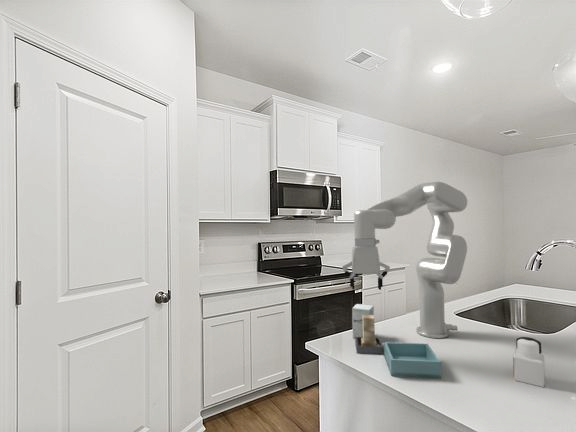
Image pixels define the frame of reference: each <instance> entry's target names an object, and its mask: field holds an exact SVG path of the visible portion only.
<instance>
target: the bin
mask: <svg viewBox="0 0 576 432" xmlns="http://www.w3.org/2000/svg"><path fill="white" fill-rule="evenodd" d="M383 346H384V354H383V355H384V356H383V357H384V359H385V361H386V366H387V367H388V371H389V374H390V376H391V377H404V378H425V379H426V378H427V379H442V361H441V360H440V358H438V356H437V354H436V353H435V352H434V351H433V350H432V348H431V347H430V345H429V344H428V343H419V342H417V343H413V342H392V341H391V342H388V341H385V342H383Z"/></svg>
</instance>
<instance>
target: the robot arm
mask: <svg viewBox="0 0 576 432" xmlns="http://www.w3.org/2000/svg"><path fill="white" fill-rule="evenodd" d="M425 205H426V207H427V209H428V211H429V212H430V215H431V218H432V226H431V230H430V234H429V236H428V240H427V244H426V251H427V253H428V254H429V255H431V256H435V257H441V259H440V258H435V257H423V258H421V259H420V260H419V261H418V262H417V263H416V266H415V267H416V268H415V269H416V275H417V280H418V286H419V287H418V288H419V326H418V327H416V329H415V330H416V333H417V334H419V335H420V336H423V337H426V338H432V339H444V338H447V337H449V336H450V332H449V331H458V326H457V325H453V324H450V323H446V321H445V319H446V318H445V317H446V316H445V291H444V288H443V284H446V285H453V284H456V283H457V282H459V280H460V278H461V275H462V272H463V268H464V264H465V260H466V257H467V253H468V246H467V241H466V240H465V238H464V237H463V236H461V235H457V234H454V230H455V223H454V221H453V218H452V217H451V215H450V214H449V213H462V212H463V211H464V210H466V208H467V206H468V198H467V196H466V195H465V193H464V192H463V191H462V190H459V189H457V188H455V187H453V186H452V185H449V184H447V183H445V182H442V181H430V182H425V183H424V182H423V183H420V184H417V185H415V186H413V187H412V188H410V189H408V190H407V191H404V192H402V193H401V194H399V195H398V196H394V197H391V198H389V199H386V200H384V201H381V202H379V203H377V204H375V205H372V206H370V207H369V208H367V209H362V210H360V209H359V210H356V211H355V212H354V214H353V218H354V219H353V220H354V221H353V222H354V223H353V225H354V226H353V227H354V228H353V229H354V246H353V247H352V251H351V261H350V262H349V263H346V264H345V265H343V266H342V267H341V268H342V270H343V272H344V273H345V275H346V276H347V277H348V278H349V285H350V286H349V287H351V289H352V291H353V290H355V278H354V277H355V276H356V274H357V275H361V274H362V275H363V274H364V275H366V274H367V275H370V274H371V275H375V274H376V275H377V288H378V290H381V291H382V288H383V287H384V286H383V279H384V278H385V277H386V276H387V275H388V273H389V271H390V270H391V269H390V268H391V267H390V266H389V265H387V264H385V263H384V262H381V260H380V255H379V254H380V253H379V248H378V246H377V244H380V240H379V239H376V229H377V230H388V229H390V228H392V227H393V226H394V225H395V224H396V221H397V217H404V216H408V215H410V214H412V213H414V212H416V211H417V210H418V209H420V208H422V207H424V206H425ZM443 258H445V259H443ZM350 267H351V270H352V271H351V273H350V271H348V268H350ZM381 267H382V268H384V269H383V271H382V272H380V271H381Z"/></svg>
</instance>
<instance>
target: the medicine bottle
mask: <svg viewBox="0 0 576 432" xmlns="http://www.w3.org/2000/svg"><path fill="white" fill-rule="evenodd" d="M515 344H516V347H515V348H516V349H515V351H514V354H513V357H512V358H513V361H512V362H513V380H514V381H515V382H520V383H524V384H529V385H532V386H536V387H541V388H544V387H545V381H546V380H545V379H546V375H545V373H546V368H545V366H546V365H545V355H544V354H542V343H541V341H539V340H537V339H535V338H534V337H528V336H520V337H519V336H518V337H517V338H516V343H515Z"/></svg>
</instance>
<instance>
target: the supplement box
mask: <svg viewBox="0 0 576 432" xmlns="http://www.w3.org/2000/svg"><path fill="white" fill-rule="evenodd" d="M374 308H375V307H374V305H369V304H362V303H356V304H354V306H353V307H352V309H351V310H352V311H351V312H352V313H351V314H352V319H351V321H352V339H355V337H363V318H362V315H373V316H374V315H375V313H374V311H375V309H374Z"/></svg>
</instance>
